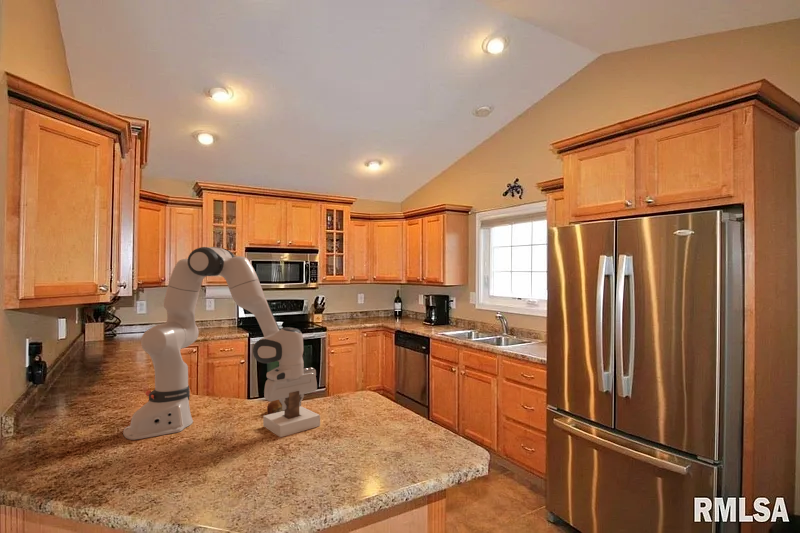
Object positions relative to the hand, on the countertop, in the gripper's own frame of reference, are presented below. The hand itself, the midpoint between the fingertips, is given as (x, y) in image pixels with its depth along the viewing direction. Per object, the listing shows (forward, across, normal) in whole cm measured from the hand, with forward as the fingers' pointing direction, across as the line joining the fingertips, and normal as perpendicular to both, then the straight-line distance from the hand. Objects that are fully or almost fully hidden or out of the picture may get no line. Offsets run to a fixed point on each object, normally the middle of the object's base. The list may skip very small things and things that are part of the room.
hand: (291, 407), depth 158 cm
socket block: (+7, 0, 0) cm, 7 cm away
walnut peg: (+6, 0, 0) cm, 6 cm away
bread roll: (+7, -3, -17) cm, 19 cm away
